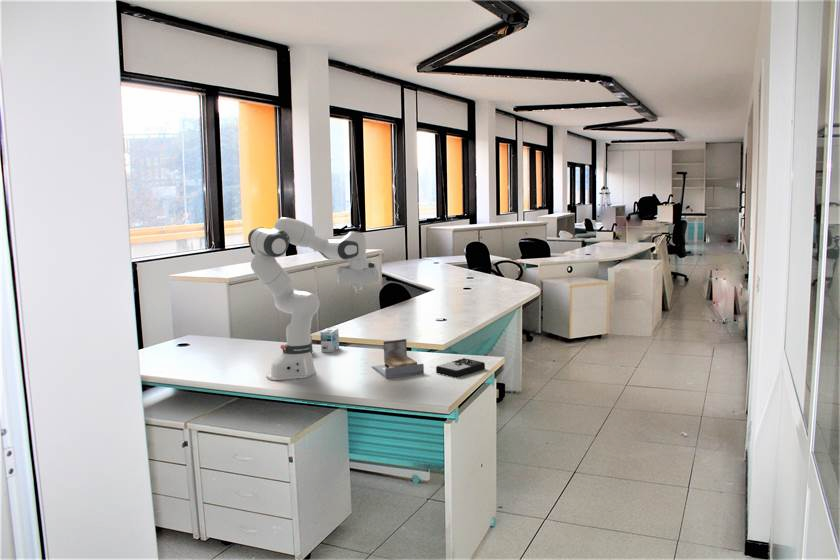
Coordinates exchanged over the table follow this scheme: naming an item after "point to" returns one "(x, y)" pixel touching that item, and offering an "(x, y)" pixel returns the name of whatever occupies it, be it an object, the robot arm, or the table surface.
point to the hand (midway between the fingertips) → (358, 293)
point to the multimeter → (460, 367)
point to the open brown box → (396, 354)
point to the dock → (399, 370)
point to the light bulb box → (329, 340)
